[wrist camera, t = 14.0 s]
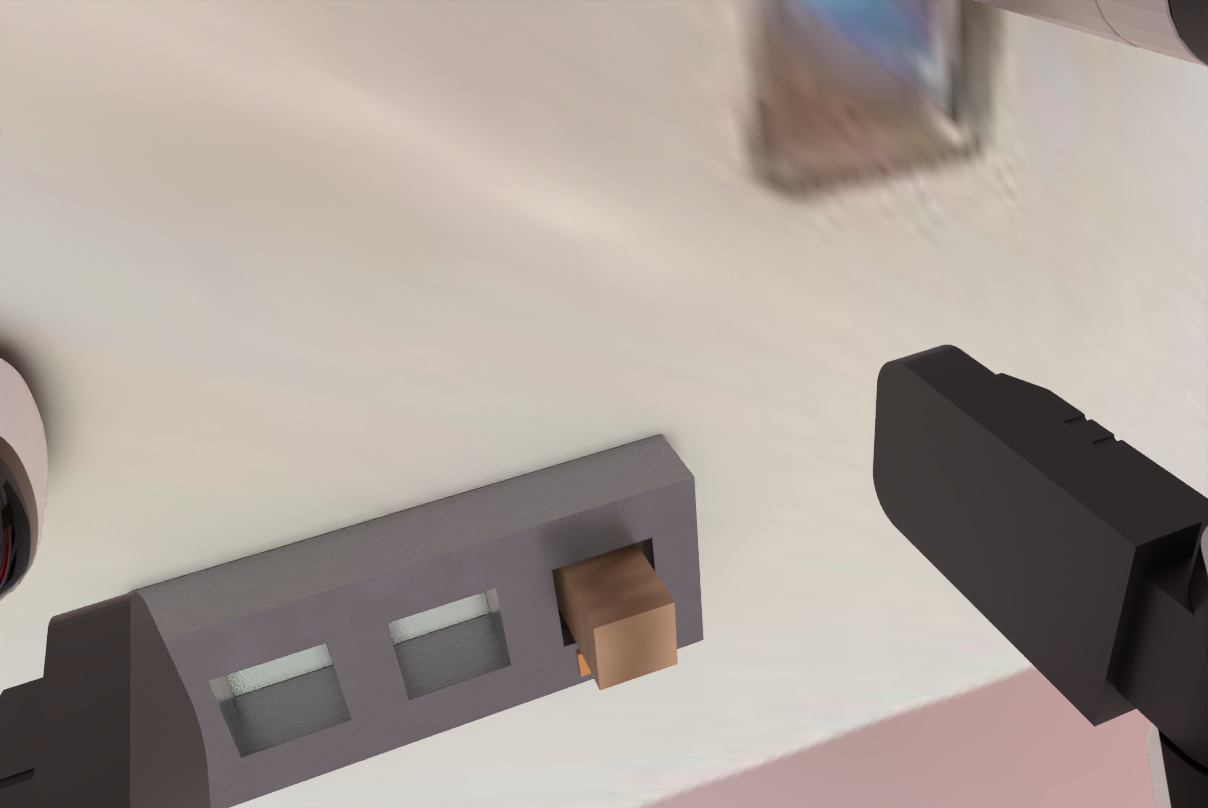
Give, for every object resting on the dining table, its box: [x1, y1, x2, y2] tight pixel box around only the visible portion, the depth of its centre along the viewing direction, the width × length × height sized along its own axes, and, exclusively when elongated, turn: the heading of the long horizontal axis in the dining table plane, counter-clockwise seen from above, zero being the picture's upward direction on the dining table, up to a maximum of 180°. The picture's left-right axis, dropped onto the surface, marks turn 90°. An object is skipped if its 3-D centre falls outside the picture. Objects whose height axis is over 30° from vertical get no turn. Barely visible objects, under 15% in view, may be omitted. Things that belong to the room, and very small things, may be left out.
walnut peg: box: [552, 543, 677, 690], centre depth 53 cm, size 4×4×8 cm
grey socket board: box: [130, 434, 703, 808], centre depth 52 cm, size 26×11×4 cm, turn 96°
